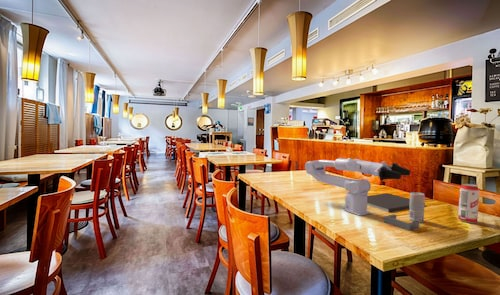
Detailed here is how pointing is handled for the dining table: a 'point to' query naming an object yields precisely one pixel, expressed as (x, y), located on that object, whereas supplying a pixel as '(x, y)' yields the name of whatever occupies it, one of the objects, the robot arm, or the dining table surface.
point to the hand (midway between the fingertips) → (405, 174)
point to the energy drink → (416, 207)
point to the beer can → (468, 203)
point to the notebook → (388, 202)
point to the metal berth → (400, 223)
